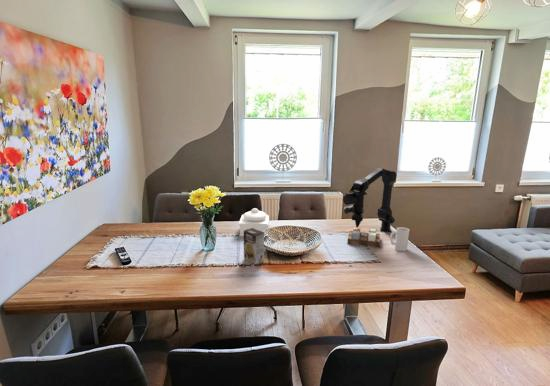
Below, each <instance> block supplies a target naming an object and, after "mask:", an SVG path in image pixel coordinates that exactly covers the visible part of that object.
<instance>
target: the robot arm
mask: <svg viewBox="0 0 550 386" xmlns="http://www.w3.org/2000/svg"><path fill="white" fill-rule="evenodd" d="M397 176H398V175H397V172H396V171H394V170H390V169H385V168H382V167H376V169H375V170H373V171H372V172H371V173H370V174H368V175H367V176H365V177H364V178H360V179H358V180H356V181H354V182H353V184H352V186H351V188H350V190H348V192H346V193H345V194H344V196H343V197H342V202H343V204H344V205H345V206H344V207H343V213H344V214H345V215H348V214H350V213H352V215H351V220H352V221H354V222H355V227H359V226H360V224H361V223H362V221H364V220H363V219H364V215H363V214H364V212H365V211H364V210H365V209H364V207H365V206H364V204H365V195H366V196H367V195H368V193H367V192H366V191H367V190H368V189H369V187H370V185H371V184H373V183H374V182H375V181H376V180H378V179H379V178H381V181H382V183H383V188H382V189H383V190H382V197H381V201H382V202H381V206H380V207H379V208H378V209H377V213H376V215H377V218H378V221H381V226H380V228H379V230H380V232H384V233H392V230H391V229H392V227H391V225H392V224H394V223H395V221H396V219H395V218H394V217H393V211H392V209H391V201H392V200H391V199H392V191H393V190H392V189H393V185H394V184H395V182H396V179H397Z"/></svg>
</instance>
